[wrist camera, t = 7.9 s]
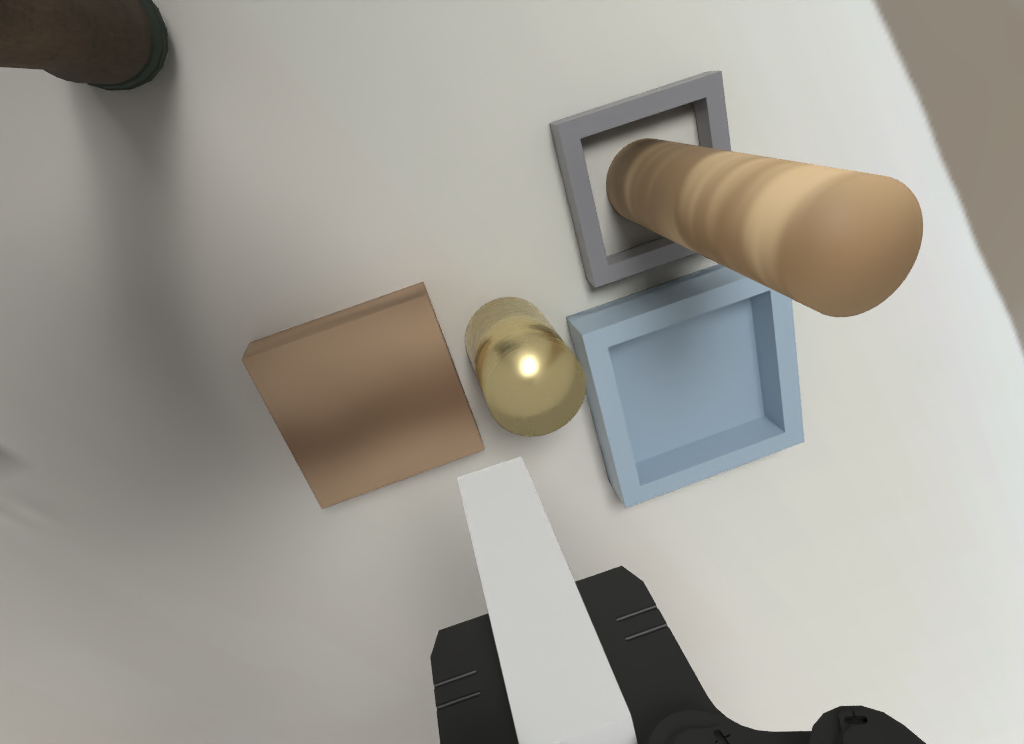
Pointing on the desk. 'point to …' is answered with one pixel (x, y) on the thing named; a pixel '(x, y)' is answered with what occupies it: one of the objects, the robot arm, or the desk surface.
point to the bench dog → (524, 367)
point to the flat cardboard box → (365, 395)
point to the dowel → (775, 220)
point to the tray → (689, 380)
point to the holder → (571, 129)
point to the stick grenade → (85, 40)
